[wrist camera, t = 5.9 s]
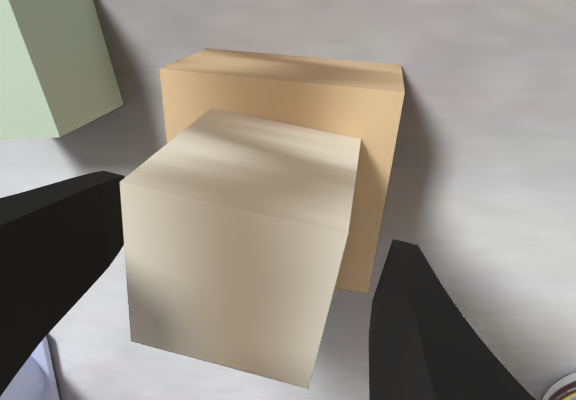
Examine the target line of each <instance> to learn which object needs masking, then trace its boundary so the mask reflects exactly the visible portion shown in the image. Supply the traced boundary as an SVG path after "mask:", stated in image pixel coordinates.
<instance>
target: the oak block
mask: <svg viewBox="0 0 576 400" xmlns="http://www.w3.org/2000/svg"><path fill="white" fill-rule="evenodd" d="M160 79H161V89H162V99H163V109H164V119H165V129H166V139H167V143H168V142H170V141H171V140H172V139H173V138H175V137H176V136H177V135H178V134H180V133H181V132H182V131H183V130H185V129H186V128H187V127H188V126H189V125H191V124H192V123H193V122H194V121H196V120H197V119H198V118H199V117H201V116H202V115H203V114H204V113H206V112H207V111H208V110H209V109H216V110H221V111H226V112H231V113H236V114H241V115H246V116H251V117H256V118H261V119H266V120H271V121H275V122H280V123H285V124H290V125H295V126H300V127H305V128H310V129H315V130H320V131H325V132H330V133H335V134H340V135H344V136H349V137H354V138H359V139H361V143H360V151H359V158H358V165H357V173H356V180H355V187H354V195H353V202H352V209H351V217H350V224H349V231H348V237H347V240H346V244H345V248H344V252H343V256H342V260H341V264H340V268H339V272H338V276H337V280H336V284H335V287H334V288H336V289H342V290H348V291H353V292H359V293H365V294H369V289H370V283H371V278H372V272H373V266H374V261H375V255H376V250H377V244H378V239H379V233H380V227H381V222H382V216H383V211H384V205H385V200H386V194H387V189H388V183H389V177H390V172H391V166H392V161H393V155H394V150H395V144H396V139H397V133H398V127H399V122H400V116H401V111H402V105H403V100H404V94H405V90H404V82H403V75H402V67H401V65H393V64H382V63H370V62H358V61H347V60H335V59H323V58H312V57H300V56H288V55H277V54H265V53H253V52H242V51H230V50H218V49H204V50H202V51H200V52H197V53H195V54H193V55H190V56H188V57H186V58H183V59H181V60H179V61H176V62H174V63H172V64H169V65H167V66H165V67H162V68H160Z"/></svg>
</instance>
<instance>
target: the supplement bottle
mask: <svg viewBox="0 0 576 400" xmlns="http://www.w3.org/2000/svg"><path fill="white" fill-rule="evenodd" d="M542 400H576V372H574V373H572V374H569V375H567V376H565V377H563V378H562V379H560V380H559V381H557V382H556V383H555V384H553V385H552V386H551V387H550V388H549V389H548V391H547V392H546V393H545V395H544V397H543V399H542Z"/></svg>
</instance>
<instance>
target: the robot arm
mask: <svg viewBox="0 0 576 400" xmlns="http://www.w3.org/2000/svg"><path fill="white" fill-rule="evenodd" d="M124 178H125V177H124V176H123V175H119V174H115V173H110V172H106V171H100V172H95V173H90V174H86V175H82V176H78V177H75V178H71V179H68V180H64V181H61V182H57V183H54V184H50V185H47V186H43V187H40V188H36V189H33V190H29V191H26V192H22V193H19V194H15V195H11V196H7V197H3V198H0V400H59V395H58V390H57V385H56V380H55V375H54V370H53V365H52V361H51V356H50V351H49V346H48V341H47V338H46V335H47V334H48V333H49V332H50V331H51V329H52V328H53V327H54V326H55V325H56V324H57V323H58V322H59V321H60V320H61V319H62V318H63V316H64V315H65V314H66V313H67V312H68V311H69V310H70V309H71V308H72V307H73V306H74V305H75V303H76V302H77V301H78V300H79V299H80V298H81V297H82V296H83V295H84V294H85V293H86V292H87V290H88V289H89V288H90V287H91V286H92V285H93V284H94V283H95V282H96V281H97V279H98V278H99V277H100V276H101V275H102V274H103V273H104V272H105V270H106V269H107V268H108V267H109V266H110V264H111V263H112V261H113V260H114V259H115V257H116V256H117V254H118V253H119V251H120V250H121V248H122V247H123V245H124V236H123V222H122V208H121V194H120V181H122V180H123V179H124ZM369 389H370V400H536V399H534V398H533V397H532V396H531V395H530V394H529V393H528V392H527V391H526V390H525V389H524V388H523V387H522V385H521V384H520V383H519V382H518V381H517V380H516V379H515V378H514V377H513V376H512V375H511V374H510V373H509V372H508V370H507V369H506V368H505V367H504V366H503V365H502V364H501V363H500V361H499V360H498V359H497V358H496V357H495V356H494V355H493V354H492V352H491V351H490V350H489V349H488V348H487V346H486V345H485V344H484V343H483V342H482V340H481V339H480V338H479V337H478V335H477V334H476V333H475V331H474V330H473V329H472V327H471V326H470V325H469V323H468V322H467V321H466V320H465V318H464V317H463V316H462V314H461V313H460V311H459V310H458V308H457V307H456V306H455V304H454V303H453V301H452V300H451V298H450V297H449V295H448V294H447V292H446V291H445V289H444V288H443V286H442V284H441V283H440V281H439V280H438V278H437V276H436V275H435V273H434V271H433V270H432V268H431V266H430V265H429V263H428V261H427V260H426V258H425V257H424V255H423V253H422V252H421V250H420V248H419V247H418V245H415V244H411V243H406V242H402V241H398V240H394V239H393V241H392V244H391V247H390V250H389V253H388V256H387V259H386V262H385V265H384V268H383V271H382V274H381V277H380V280H379V283H378V286H377V289H376V292H375V295H374V298H373V302H372V311H371V319H370V329H369Z"/></svg>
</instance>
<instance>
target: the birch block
mask: <svg viewBox="0 0 576 400" xmlns="http://www.w3.org/2000/svg"><path fill="white" fill-rule="evenodd" d="M360 143H361V139H359V138H354V137H349V136H344V135H340V134H335V133H330V132H325V131H320V130H315V129H310V128H305V127H300V126H295V125H290V124H285V123H280V122H275V121H271V120H266V119H261V118H256V117H251V116H246V115H241V114H236V113H231V112H226V111H221V110H216V109H209V110H208V111H207V112H206V113H204V114H203V115H202V116H201V117H199V118H198V119H197V120H196V121H194V122H193V123H192V124H191V125H189V126H188V127H187V128H186V129H185V130H183V131H182V132H181V133H180V134H178V135H177V136H176V137H175V138H173V139H172V140H171V141H170V142H168V143H167V144H166V145H165V146H164V147H162V148H161V149H160V150H159V151H157V152H156V153H155V154H154V155H152V156H151V157H150V158H149V159H147V160H146V161H145V162H144V163H143V164H141V165H140V166H139V167H138V168H136V169H135V170H134V171H133V172H131V173H130V174H129V175H128V176H126V177H125V178H124V179H123V180H122V181H120V194H121V208H122V222H123V236H124V250H125V263H126V277H127V291H128V305H129V319H130V332H131V341H132V342H136V343H140V344H143V345H147V346H151V347H154V348H158V349H162V350H166V351H169V352H173V353H177V354H181V355H184V356H188V357H192V358H195V359H199V360H203V361H207V362H210V363H214V364H218V365H222V366H225V367H229V368H233V369H236V370H240V371H244V372H248V373H251V374H255V375H259V376H263V377H266V378H270V379H274V380H277V381H281V382H285V383H289V384H292V385H296V386H300V387H304V388H307V389H309V385H310V381H311V377H312V374H313V370H314V366H315V362H316V358H317V354H318V350H319V346H320V342H321V338H322V334H323V330H324V327H325V323H326V319H327V315H328V311H329V307H330V303H331V299H332V295H333V291H334V287H335V284H336V280H337V276H338V272H339V268H340V264H341V260H342V256H343V252H344V248H345V244H346V240H347V237H348V231H349V224H350V217H351V209H352V202H353V195H354V187H355V180H356V173H357V165H358V158H359V151H360Z"/></svg>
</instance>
